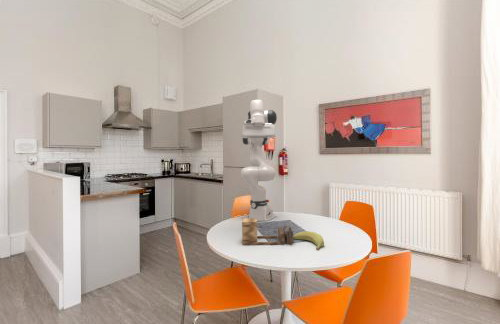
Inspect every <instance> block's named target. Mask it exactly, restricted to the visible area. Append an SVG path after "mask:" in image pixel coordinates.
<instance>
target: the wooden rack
mask: <svg viewBox="0 0 500 324" xmlns="http://www.w3.org/2000/svg"><path fill="white" fill-rule="evenodd" d="M293 235H294V231H293V230H292V227H291V226H290V225H284V226H283V227H277V235H257V240H258V239H259V240H261V239H277V240H278V241H257V242H242V241H241V243H242V246H279V245H280V246H283V245H284V246H285V240H286V245H293V241H294V239H293Z"/></svg>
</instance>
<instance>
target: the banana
mask: <svg viewBox="0 0 500 324" xmlns="http://www.w3.org/2000/svg"><path fill="white" fill-rule="evenodd" d="M293 240H301V241H302V240H306V241H309V242H312V243H314V245H315V246H316V247H315V250H317V251H320V248H321V247H323V246H324V245H325V241H324V238H323V236H322V235H321V234H319V233H318V232H314V231H308V230H307V231H300V232H298V233H294V234H293Z"/></svg>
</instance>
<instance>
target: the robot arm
mask: <svg viewBox="0 0 500 324" xmlns="http://www.w3.org/2000/svg"><path fill="white" fill-rule="evenodd" d="M264 107H265V106H264V102H263V100H261V99H257V98H256V99H253V100H251V101H250V103H249V112H247V116H248V118H247V119H246V120H244V122H243V126H242V129H241V130H242V131H241V141H242V144H244V145H246V146H248V145H250V148H249V164H250V166H245V167H243V168H242V169H241V171H240V177H241V180H243V181H244V182H245V183H246V184H247V185H248V188H249V190H250V202H249V204H250V206H249V214H248V215H247V216H248V218H256V219H257V222H269V221H272V220H273V219H274V218H276V217H277V215H276V214H274V210H273V208H272V207H271V206H270V205H268V203H270V200H269V199H267V196H266V195H267V193H266V191H267V190H266V188H265V187H264V186H261V185H259V184H258V182H270V181H273V180H274V179H275V177H276V170H275V168H274V167H273V166H270V165H269V164H267V162H266V161H265V157H264V152H263V147H266V145H269V141H270V139H273V138H275V137H276V125H275V124H276V123H277V121H278V120H277V119H278V117H277V113H276V111H275V110H273V109H269V110H268V109H267V110H265V108H264Z"/></svg>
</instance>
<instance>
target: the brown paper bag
mask: <svg viewBox="0 0 500 324" xmlns="http://www.w3.org/2000/svg"><path fill="white" fill-rule="evenodd" d="M241 229H242V230H241V235H242V236H241V237H242V238H241V239H242V240H241V243H242V242H258V239H257V236H258V221H257V219H256V218H249V217H248V218H247V217H246V218H242V220H241Z"/></svg>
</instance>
